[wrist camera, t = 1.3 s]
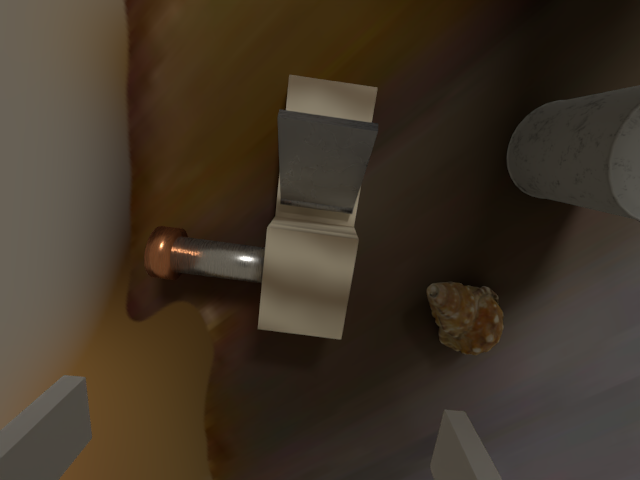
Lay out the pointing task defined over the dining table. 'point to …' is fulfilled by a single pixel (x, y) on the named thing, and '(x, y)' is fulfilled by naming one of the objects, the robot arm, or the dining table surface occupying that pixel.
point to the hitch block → (312, 233)
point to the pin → (200, 257)
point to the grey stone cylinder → (582, 152)
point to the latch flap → (322, 160)
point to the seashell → (466, 316)
